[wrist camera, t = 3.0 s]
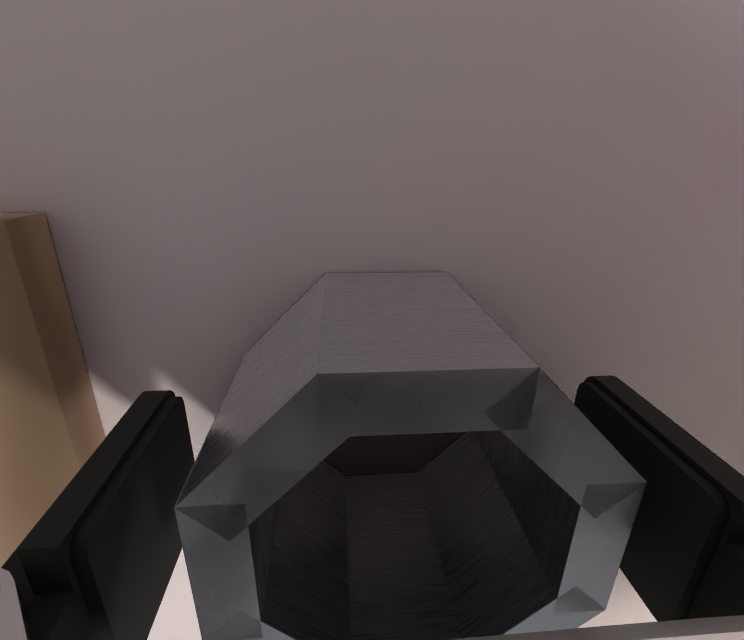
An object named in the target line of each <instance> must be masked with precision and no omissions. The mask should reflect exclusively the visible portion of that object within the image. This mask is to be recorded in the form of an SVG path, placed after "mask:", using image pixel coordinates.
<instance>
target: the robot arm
mask: <svg viewBox="0 0 744 640" xmlns="http://www.w3.org/2000/svg"><path fill="white" fill-rule="evenodd" d="M574 405H575V406H576V407H577V408H578V409H579V410H580V411H581V412H582V413H583V414H584V416H585V417H586V418H587V419H588V420H589V421H590V422H591V423H592V424H593V425H594V426H595V427H596V428H597V429H598V431H599V432H600V433H601V434H602V435H603V436H604V437H605V438H606V439H607V440H608V441H609V442H610V443H611V445H612V446H613V447H614V448H615V449H616V450H617V451H618V452H619V453H620V454H621V455H622V456H623V457H624V458H625V460H626V461H627V462H628V463H629V464H630V465H631V466H632V467H633V468H634V469H635V470H636V471H637V472H638V473H639V474H640V475H641V476H642V477H643V478H644V479H645V480H646V482H647V483H646V486H645V489H644V492H643V495H642V498H641V502H640V505H639V508H638V511H637V514H636V517H635V520H634V523H633V526H632V529H631V532H630V535H629V538H628V541H627V545H626V548H625V551H624V554H623V557H622V560H621V563H620V566H619V567H620V569H621V570H622V572H623V573H624V575H625V576H626V577H627V579H628V580H629V582H630V583H631V585H632V586H633V588H634V589H635V590H636V592H637V593H638V595H639V596H640V598H641V599H642V600H643V602H644V603H645V605H646V606H647V608H648V609H649V610H650V612H651V613H652V615H653V616H654V617H655V619H656V620H657V621H658V622H648V623H636V624H624V625H612V626H600V627H587V628H575V629H564V630H552V631H541V632H529V633H518V634H506V635H495V636H484V637H472V638H461V639H450V640H744V476H743V475H742V474H740V473H739V472H738V471H736V470H735V469H734V468H733V467H731V466H730V465H729V464H727V463H726V462H725V461H724V460H722V459H721V458H720V457H718V456H717V455H716V454H715V453H713V452H712V451H711V450H709V449H708V448H707V447H706V446H704V445H703V444H702V443H701V442H699V441H698V440H697V439H695V438H694V437H693V436H692V435H690V434H689V433H688V432H686V431H685V430H684V429H683V428H681V427H680V426H679V425H677V424H676V423H675V422H674V421H672V420H671V419H670V418H668V417H667V416H666V415H665V414H663V413H662V412H661V411H659V410H658V409H657V408H656V407H654V406H653V405H652V404H650V403H649V402H648V401H647V400H645V399H644V398H643V397H642V396H640V395H639V394H638V393H636V392H635V391H634V390H633V389H631V388H630V387H629V386H627V385H626V384H625V383H624V382H622V381H621V380H620V379H618V378H617V377H615V376H590V377H588V378H586V380H585V381H584V383H581V384H580V385H579V387H578V389H577V394H576V398H575V403H574ZM194 463H195V461H194V455H193V450H192V444H191V439H190V433H189V428H188V422H187V416H186V411H185V405H184V401H183V399H182V397H176V396H175V394H174V392H173V391H171V390H168V391H145V392H143V393H142V394H141V395H140V396H139V397H138V398H137V399H136V401H135V402H134V403H133V404H132V406H131V407H130V408H129V409H128V411H127V412H126V413H125V414H124V416H123V417H122V418H121V419H120V421H119V422H118V423H117V424H116V426H115V427H114V428H113V429H112V431H111V432H110V433H109V434H108V435H107V437H106V438H105V439H104V440H103V442H102V443H101V444H100V445H99V447H98V448H97V449H96V450H95V452H94V453H93V454H92V455H91V457H90V458H89V459H88V460H87V462H86V463H85V464H84V465H83V466H82V468H81V469H80V470H79V471H78V473H77V474H76V475H75V476H74V478H73V479H72V480H71V481H70V483H69V484H68V485H67V486H66V488H65V489H64V490H63V491H62V493H61V494H60V495H59V496H58V498H57V499H56V500H55V501H54V502H53V504H52V505H51V506H50V507H49V509H48V510H47V511H46V512H45V514H44V515H43V516H42V517H41V519H40V520H39V521H38V522H37V524H36V525H35V526H34V527H33V529H32V530H31V531H30V532H29V534H28V535H27V536H26V537H25V538H24V540H23V541H22V542H21V543H20V545H19V546H18V547H17V548H16V550H15V551H14V552H13V553H12V555H11V556H10V557H9V558H8V560H7V561H6V562H5V563H4V565H3V566H2V567H1V568H0V640H147V638H148V635H149V632H150V630H151V627H152V625H153V622H154V619H155V617H156V614H157V612H158V609H159V606H160V604H161V601H162V599H163V596H164V593H165V591H166V588H167V586H168V583H169V580H170V578H171V575H172V573H173V570H174V567H175V565H176V562H177V560H178V557H179V554H180V552H181V549H182V542H181V537H180V533H179V528H178V523H177V519H176V514H175V509H174V507H175V504H176V502H177V500H178V498H179V496H180V494H181V491H182V489H183V487H184V485H185V483H186V480H187V478H188V476H189V474H190V472H191V470H192V467H193V465H194Z"/></svg>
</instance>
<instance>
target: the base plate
mask: <svg viewBox="0 0 744 640" xmlns="http://www.w3.org/2000/svg"><path fill="white" fill-rule="evenodd" d="M104 439H105V435H104V431H103V427H102V424H101V420H100V416H99V412H98V409H97V405H96V401H95V398H94V394H93V390H92V387H91V383H90V379H89V375H88V372H87V368H86V364H85V361H84V357H83V353H82V349H81V346H80V342H79V338H78V335H77V331H76V327H75V323H74V320H73V316H72V312H71V309H70V305H69V301H68V298H67V294H66V290H65V286H64V283H63V279H62V275H61V272H60V268H59V264H58V260H57V257H56V253H55V249H54V246H53V242H52V238H51V234H50V231H49V227H48V223H47V220H46V216H45V213H0V568H1V567H2V566H3V565H4V563H5V562H6V561H7V560H8V558H9V557H10V556H11V555H12V553H13V552H14V551H15V550H16V548H17V547H18V546H19V545H20V543H21V542H22V541H23V540H24V538H25V537H26V536H27V535H28V534H29V532H30V531H31V530H32V529H33V527H34V526H35V525H36V524H37V522H38V521H39V520H40V519H41V517H42V516H43V515H44V514H45V512H46V511H47V510H48V509H49V507H50V506H51V505H52V504H53V502H54V501H55V500H56V499H57V498H58V496H59V495H60V494H61V493H62V491H63V490H64V489H65V488H66V486H67V485H68V484H69V483H70V481H71V480H72V479H73V478H74V476H75V475H76V474H77V473H78V471H79V470H80V469H81V468H82V466H83V465H84V464H85V463H86V462H87V460H88V459H89V458H90V457H91V455H92V454H93V453H94V452H95V450H96V449H97V448H98V447H99V445H100V444H101V443H102V442H103V440H104Z"/></svg>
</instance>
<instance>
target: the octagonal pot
mask: <svg viewBox="0 0 744 640" xmlns="http://www.w3.org/2000/svg"><path fill="white" fill-rule="evenodd" d="M448 432H466V433H465V434H464V435H462V436H461V437H460V438H459V439H457V440H456V441H455V442H454V443H452V444H451V445H450V446H449V447H448V448H446V449H445V450H444V451H443V452H441V453H440V454H439V455H438V456H436V457H435V458H434V459H433V460H432V461H430V462H429V463H428V464H427V465H425V466H424V467H423V468H422V469H420V470H419V471H418V472H415V473H395V474H374V475H354V476H345V475H343V474H342V473H341V472H339V471H338V470H336V469H335V468H334V467H332V466H331V465H330V464H328V463H327V462H326V461H324V459H325V458H326V457H327V456H328V455H329V454H330V453H332V452H333V451H334V450H335V449H336V448H337V447H338V446H340V445H341V444H342V443H343V442H344V441H345V440H346V439H348V438H349V437H352V436H376V435H400V434H424V433H448ZM646 483H647V482H646V480H645V479H644V478H643V477H642V476H641V475H640V474H639V473H638V472H637V471H636V470H635V469H634V468H633V467H632V466H631V465H630V464H629V463H628V462H627V461H626V460H625V458H624V457H623V456H622V455H621V454H620V453H619V452H618V451H617V450H616V449H615V448H614V447H613V446H612V445H611V443H610V442H609V441H608V440H607V439H606V438H605V437H604V436H603V435H602V434H601V433H600V432H599V431H598V429H597V428H596V427H595V426H594V425H593V424H592V423H591V422H590V421H589V420H588V419H587V418H586V417H585V416H584V414H583V413H582V412H581V411H580V410H579V409H578V408H577V407H576V406H575V405H574V404H573V403H572V402H571V400H570V399H569V398H568V397H567V396H566V395H565V394H564V393H563V392H562V391H561V390H560V389H559V388H558V387H557V385H556V384H555V383H554V382H553V381H552V380H551V379H550V378H549V377H548V376H547V375H546V374H545V373H544V371H543V370H542V369H541V368H540V367H539V366H538V364H537V363H536V362H535V361H534V360H533V359H532V358H531V357H530V356H529V355H528V354H527V353H526V352H525V351H524V350H523V349H522V348H521V347H520V346H519V345H518V344H517V343H516V342H515V341H514V340H513V339H512V338H511V337H510V336H509V335H508V334H507V333H506V332H505V331H504V330H503V329H502V328H501V327H500V326H499V325H498V324H497V323H496V322H495V320H494V319H493V318H492V317H491V316H490V315H489V314H488V313H487V312H486V311H485V310H484V309H483V308H482V307H481V306H480V305H479V304H478V303H477V302H476V301H475V300H474V299H473V298H472V297H471V296H470V295H469V294H468V293H467V292H466V291H465V290H464V289H463V288H462V287H461V286H460V285H459V284H458V283H457V282H456V281H455V280H454V279H453V277H452V276H451V275H450V274H449V273H448V272H381V273H325V274H324V275H323V276H322V277H321V278H320V279H319V280H318V281H317V282H316V283H315V284H314V285H313V286H312V287H311V288H310V289H309V290H308V291H307V292H306V293H305V294H304V295H303V296H302V297H301V298H300V299H299V300H298V301H297V302H296V303H295V304H294V305H293V306H292V307H291V308H290V309H289V310H288V311H287V312H286V313H285V314H284V315H283V316H282V317H281V318H280V319H279V320H278V321H277V322H276V323H275V324H274V325H273V326H272V327H271V328H270V329H269V330H268V331H267V332H266V333H265V334H264V335H263V336H262V337H261V338H260V339H259V340H258V341H257V342H256V343H255V344H254V345H253V346H252V347H251V348H250V349H249V350H248V351H247V352H246V353H245V354H244V356H243V358H242V360H241V363H240V365H239V367H238V369H237V371H236V374H235V376H234V378H233V380H232V382H231V384H230V387H229V389H228V391H227V393H226V395H225V398H224V400H223V402H222V404H221V406H220V408H219V411H218V413H217V415H216V417H215V419H214V422H213V424H212V426H211V428H210V430H209V432H208V435H207V437H206V439H205V441H204V443H203V446H202V448H201V450H200V452H199V454H198V456H197V459H196V461H195V463H194V465H193V467H192V470H191V472H190V474H189V476H188V478H187V480H186V483H185V485H184V487H183V489H182V491H181V494H180V496H179V498H178V500H177V502H176V504H175V507H174V509H175V514H176V519H177V523H178V528H179V533H180V537H181V542H182V547H183V552H184V556H185V561H186V566H187V570H188V575H189V580H190V585H191V589H192V594H193V599H194V603H195V608H196V613H197V618H198V622H199V627H200V632H201V637H202V640H450V639H461V638H472V637H484V636H495V635H506V634H518V633H529V632H541V631H552V630H564V629H575V628H578V627H579V626H581V625H582V624H584V623H585V622H587V621H589V620H590V619H592V618H593V617H595V616H596V615H598V614H599V613H601V612H603V611H604V610H606V606H607V603H608V600H609V597H610V594H611V591H612V588H613V585H614V581H615V578H616V575H617V572H618V569H619V566H620V563H621V560H622V557H623V554H624V551H625V548H626V545H627V541H628V538H629V535H630V532H631V529H632V526H633V523H634V520H635V517H636V514H637V511H638V508H639V505H640V502H641V498H642V495H643V492H644V489H645V486H646Z"/></svg>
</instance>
